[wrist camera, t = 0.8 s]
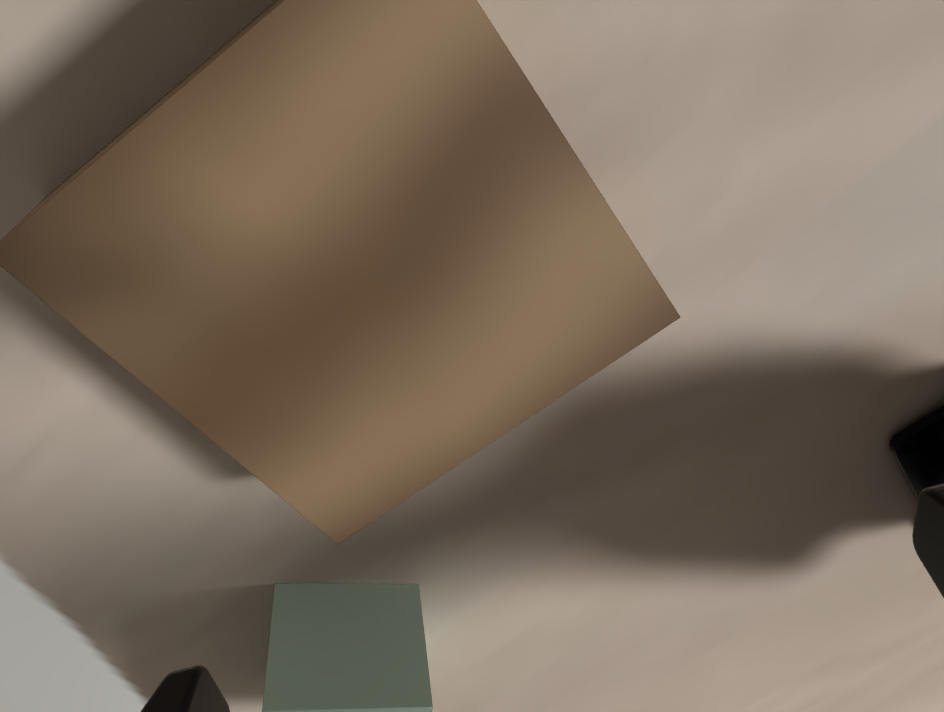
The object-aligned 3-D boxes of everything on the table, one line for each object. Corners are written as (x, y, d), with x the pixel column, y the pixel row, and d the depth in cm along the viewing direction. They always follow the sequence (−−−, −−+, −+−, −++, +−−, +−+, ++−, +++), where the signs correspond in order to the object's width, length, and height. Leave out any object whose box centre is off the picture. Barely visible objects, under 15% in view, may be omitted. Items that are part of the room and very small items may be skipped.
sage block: (418, 582, 27) (432, 706, 23) (402, 675, 30) (412, 803, 26) (275, 581, 26) (262, 711, 22) (269, 677, 29) (257, 811, 25)
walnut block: (629, 255, 22) (680, 317, 19) (338, 455, 24) (337, 544, 21) (395, -103, 17) (408, -105, 14) (50, 192, 19) (-14, 254, 16)
